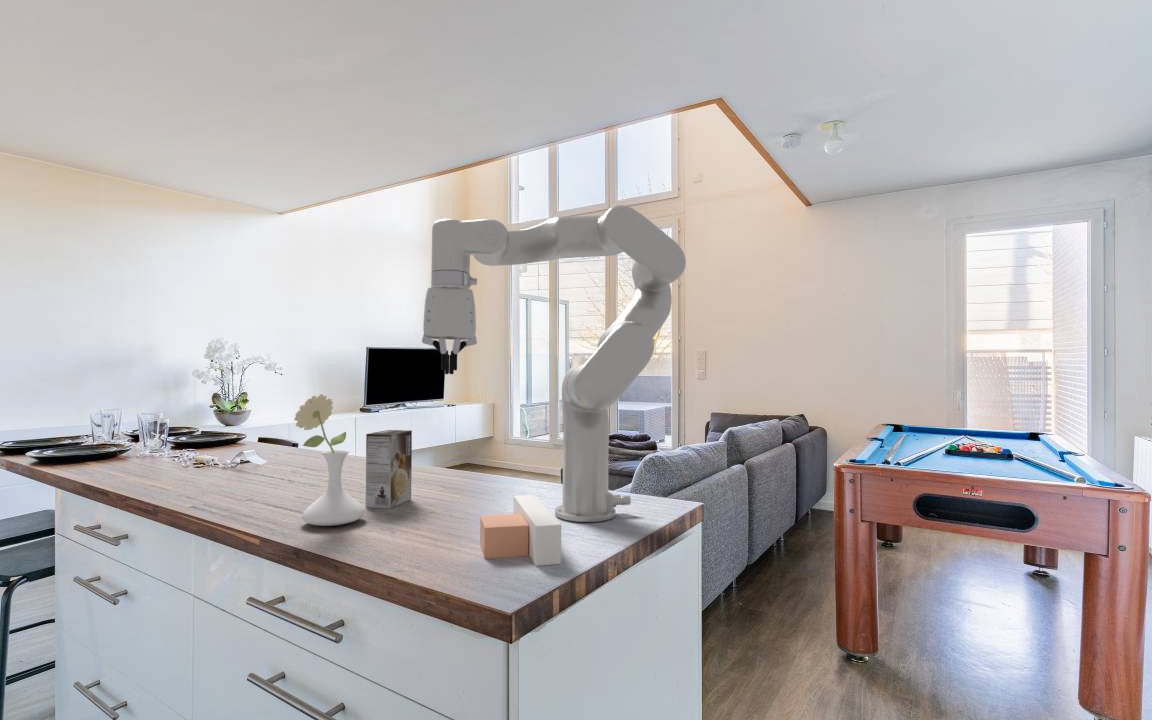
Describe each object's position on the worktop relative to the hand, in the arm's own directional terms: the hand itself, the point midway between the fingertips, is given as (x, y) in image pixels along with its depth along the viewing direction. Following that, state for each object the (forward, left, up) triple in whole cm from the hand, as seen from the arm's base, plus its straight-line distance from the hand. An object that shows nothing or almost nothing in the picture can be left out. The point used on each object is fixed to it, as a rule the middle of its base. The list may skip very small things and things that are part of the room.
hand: (449, 374), depth 112 cm
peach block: (-8, +21, -29) cm, 37 cm away
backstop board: (-14, +19, -29) cm, 37 cm away
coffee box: (+12, -18, -29) cm, 36 cm away
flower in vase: (+22, -3, -29) cm, 37 cm away
